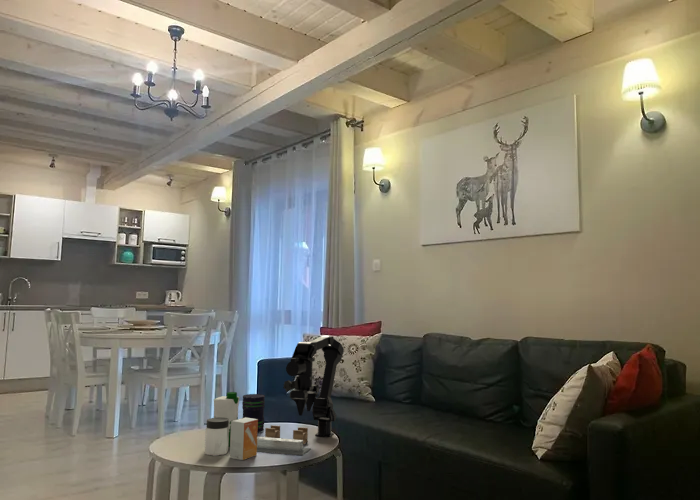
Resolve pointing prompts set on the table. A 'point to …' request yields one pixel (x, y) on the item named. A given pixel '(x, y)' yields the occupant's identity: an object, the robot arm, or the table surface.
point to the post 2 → (301, 434)
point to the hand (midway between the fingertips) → (304, 413)
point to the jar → (217, 436)
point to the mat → (284, 451)
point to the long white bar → (279, 444)
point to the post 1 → (272, 432)
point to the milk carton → (227, 408)
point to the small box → (243, 438)
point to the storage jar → (254, 408)
